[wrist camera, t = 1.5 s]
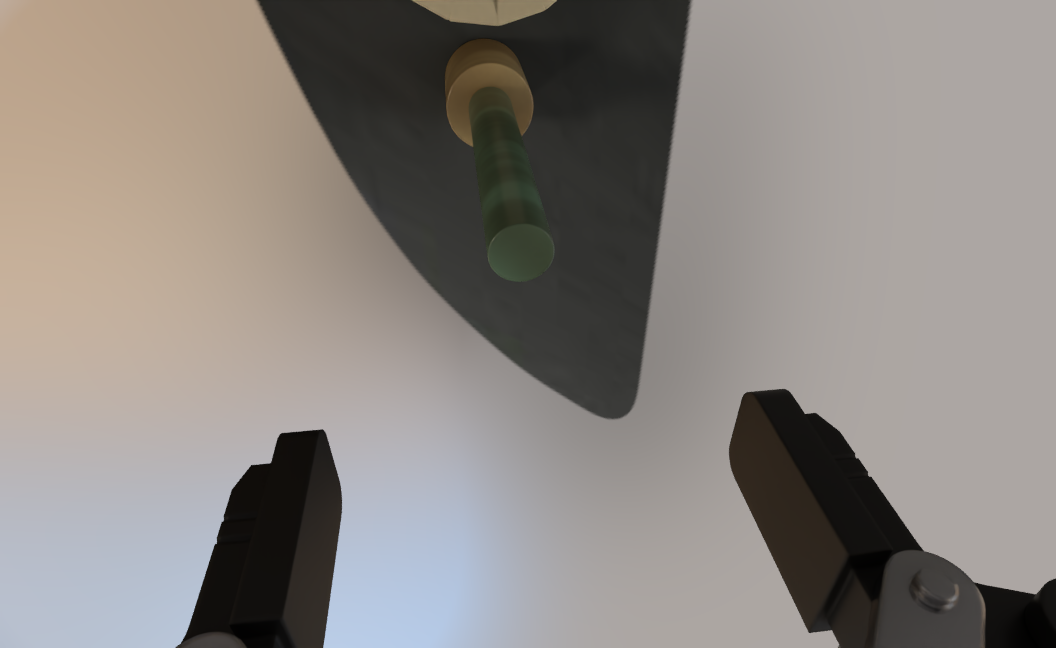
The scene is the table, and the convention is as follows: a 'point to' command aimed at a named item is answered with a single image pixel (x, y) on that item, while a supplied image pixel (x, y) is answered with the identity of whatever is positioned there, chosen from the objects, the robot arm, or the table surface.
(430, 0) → the jar
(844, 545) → the robot arm
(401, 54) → the table surface
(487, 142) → the brush
